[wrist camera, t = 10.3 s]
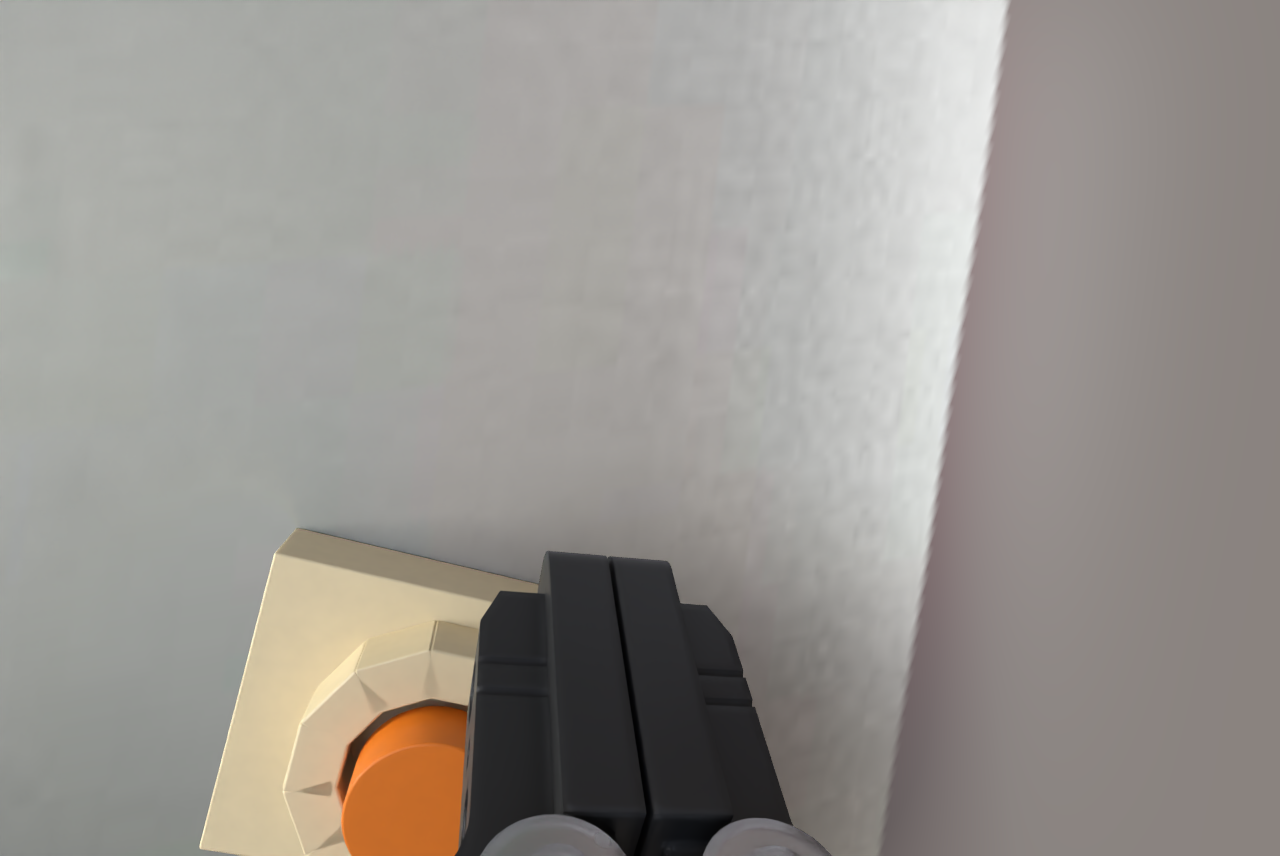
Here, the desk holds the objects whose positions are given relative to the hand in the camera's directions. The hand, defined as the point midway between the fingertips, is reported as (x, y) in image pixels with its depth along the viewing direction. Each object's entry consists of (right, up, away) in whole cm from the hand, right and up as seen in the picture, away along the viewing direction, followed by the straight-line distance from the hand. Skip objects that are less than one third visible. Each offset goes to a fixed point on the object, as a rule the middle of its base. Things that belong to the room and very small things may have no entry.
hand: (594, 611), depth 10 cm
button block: (-5, -5, +13) cm, 15 cm away
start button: (-4, -6, +10) cm, 12 cm away
